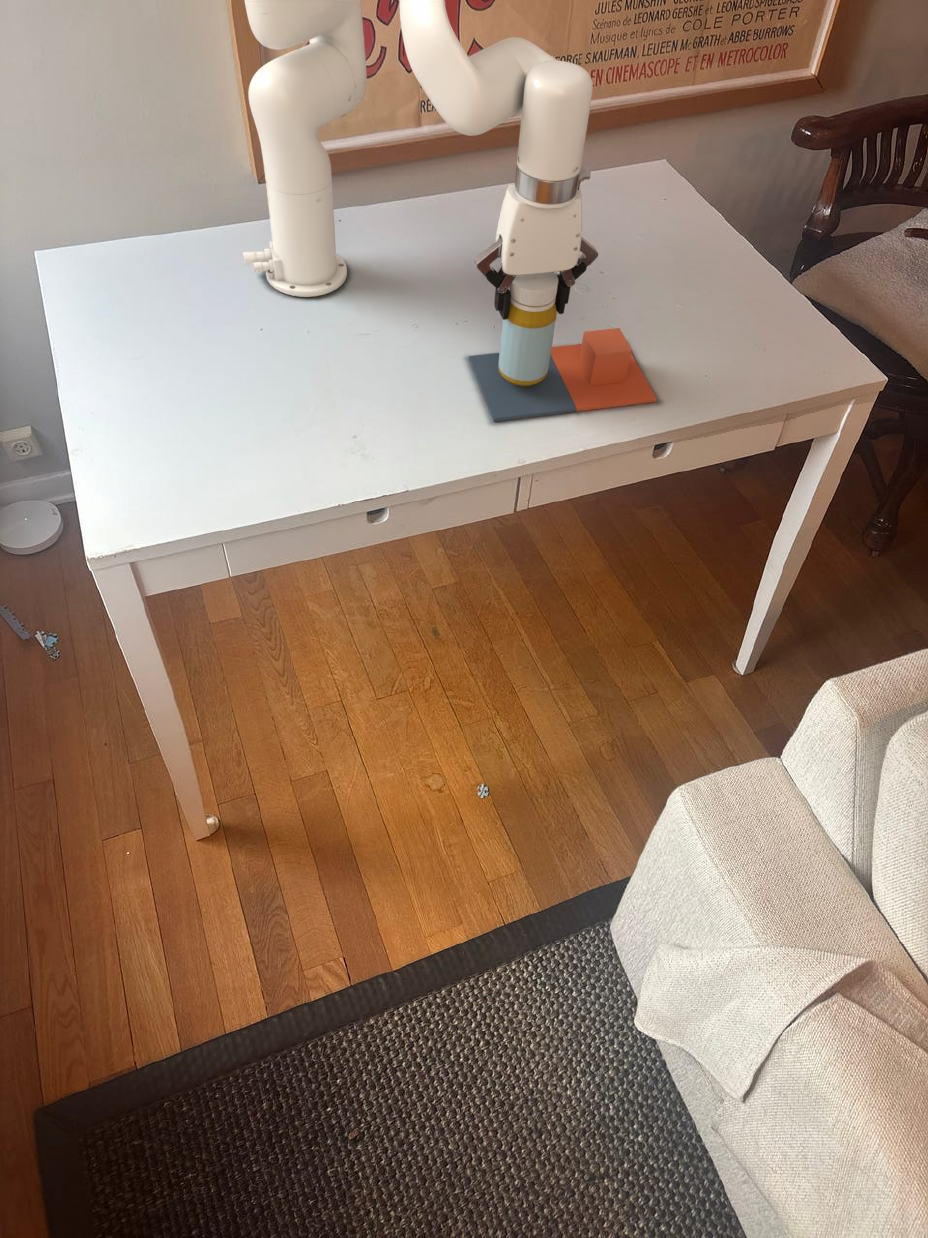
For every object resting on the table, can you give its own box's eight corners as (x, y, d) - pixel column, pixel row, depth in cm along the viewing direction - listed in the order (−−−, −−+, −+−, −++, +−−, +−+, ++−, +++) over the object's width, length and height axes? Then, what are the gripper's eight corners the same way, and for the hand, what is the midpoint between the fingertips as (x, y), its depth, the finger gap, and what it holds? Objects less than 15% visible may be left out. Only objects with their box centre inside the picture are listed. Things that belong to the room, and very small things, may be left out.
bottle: (493, 382, 134) (502, 287, 122) (503, 353, 138) (513, 258, 126) (542, 392, 133) (556, 297, 121) (551, 362, 137) (565, 267, 126)
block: (589, 386, 137) (595, 354, 133) (577, 362, 140) (583, 331, 136) (625, 382, 138) (632, 350, 134) (612, 358, 141) (619, 327, 137)
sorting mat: (493, 421, 132) (493, 418, 132) (468, 359, 140) (468, 355, 140) (656, 401, 137) (657, 398, 136) (622, 342, 145) (623, 338, 144)
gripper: (605, 159, 118) (583, 288, 132) (467, 169, 114) (460, 300, 128) (626, 191, 113) (601, 321, 127) (483, 202, 110) (474, 334, 124)
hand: (530, 309), depth 128 cm, fingers closed on bottle, 7 cm apart
